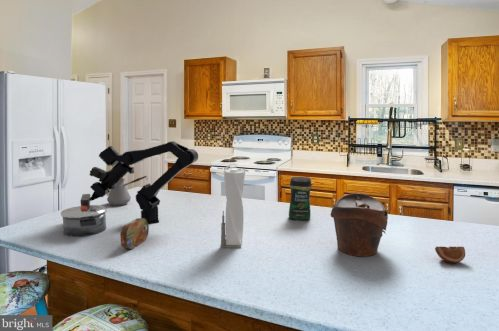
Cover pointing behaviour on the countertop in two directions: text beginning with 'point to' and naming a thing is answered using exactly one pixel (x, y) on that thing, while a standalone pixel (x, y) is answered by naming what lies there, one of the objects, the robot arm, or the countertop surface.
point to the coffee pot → (121, 193)
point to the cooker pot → (84, 226)
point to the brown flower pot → (359, 224)
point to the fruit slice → (451, 253)
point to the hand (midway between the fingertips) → (90, 199)
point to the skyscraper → (233, 209)
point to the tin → (134, 233)
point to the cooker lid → (84, 209)
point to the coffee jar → (300, 198)
